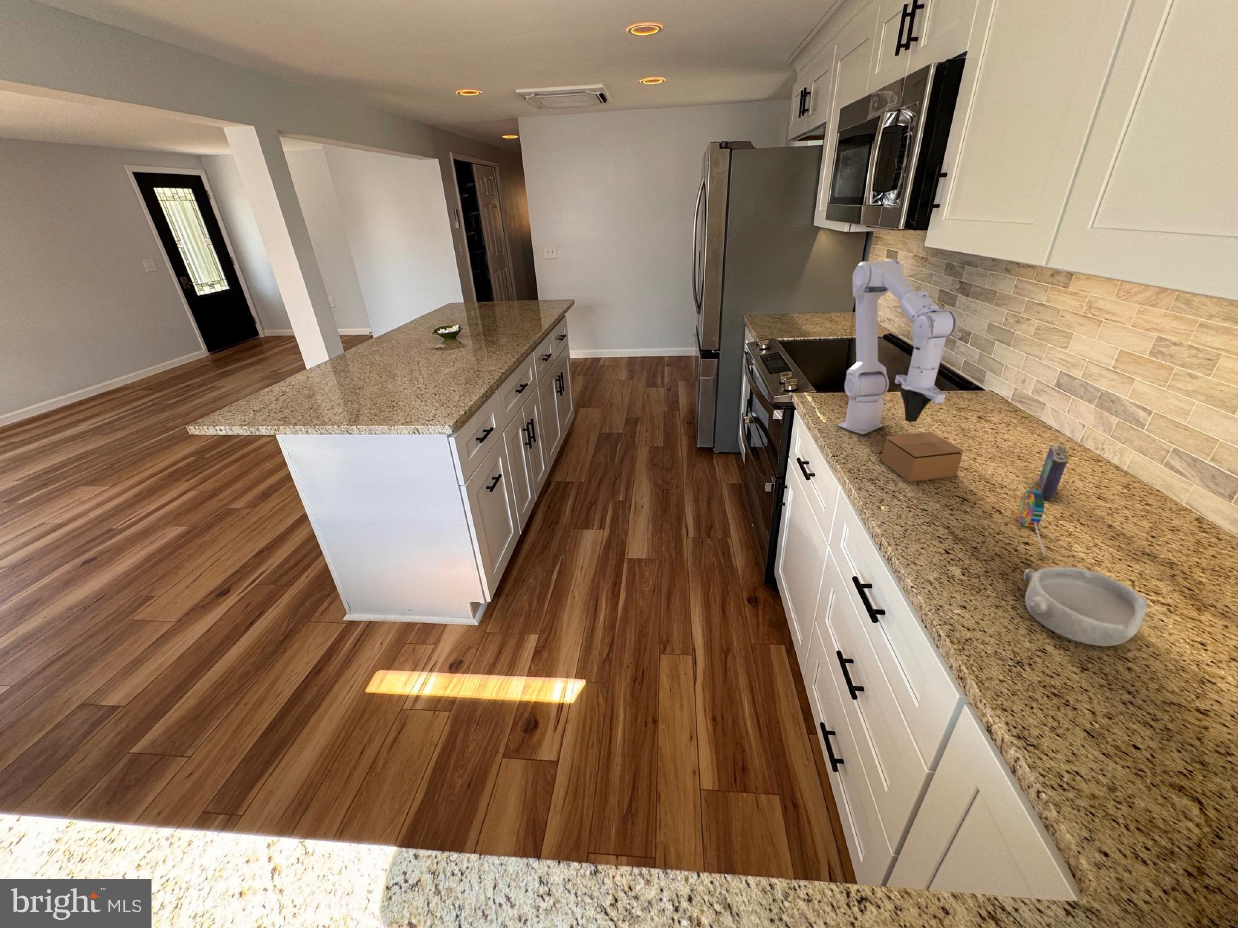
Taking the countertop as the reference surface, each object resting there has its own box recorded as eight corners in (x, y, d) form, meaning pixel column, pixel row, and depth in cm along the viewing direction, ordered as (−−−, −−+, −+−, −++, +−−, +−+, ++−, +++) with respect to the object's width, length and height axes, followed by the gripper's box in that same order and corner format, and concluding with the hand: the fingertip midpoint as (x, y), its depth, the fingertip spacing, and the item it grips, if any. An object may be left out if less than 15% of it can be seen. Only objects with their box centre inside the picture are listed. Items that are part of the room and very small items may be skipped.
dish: (1137, 612, 79) (1151, 587, 76) (1137, 668, 70) (1153, 642, 67) (1022, 574, 87) (1032, 550, 85) (1009, 619, 78) (1019, 595, 76)
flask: (1036, 480, 115) (1052, 436, 110) (1052, 483, 113) (1069, 439, 108) (1039, 498, 108) (1056, 453, 103) (1056, 502, 106) (1075, 456, 101)
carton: (880, 460, 126) (886, 436, 123) (924, 455, 127) (930, 431, 124) (909, 481, 116) (915, 455, 113) (956, 476, 118) (963, 450, 115)
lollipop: (1031, 566, 94) (1015, 506, 104) (1040, 567, 93) (1023, 507, 103) (1048, 543, 89) (1029, 482, 99) (1058, 544, 89) (1038, 483, 98)
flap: (886, 437, 123) (886, 436, 123) (930, 433, 124) (931, 431, 124) (899, 447, 118) (900, 445, 118) (945, 442, 120) (946, 440, 119)
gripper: (888, 358, 122) (877, 411, 128) (929, 377, 109) (915, 434, 115) (915, 356, 123) (903, 408, 129) (959, 374, 110) (943, 431, 116)
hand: (910, 420), depth 122 cm, fingers closed
